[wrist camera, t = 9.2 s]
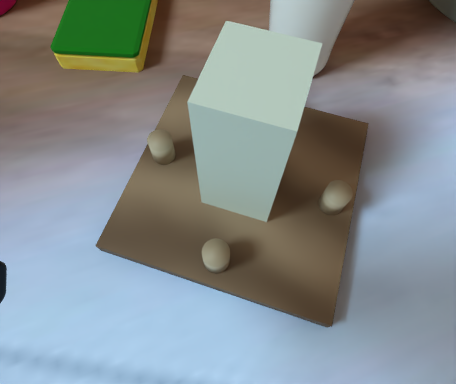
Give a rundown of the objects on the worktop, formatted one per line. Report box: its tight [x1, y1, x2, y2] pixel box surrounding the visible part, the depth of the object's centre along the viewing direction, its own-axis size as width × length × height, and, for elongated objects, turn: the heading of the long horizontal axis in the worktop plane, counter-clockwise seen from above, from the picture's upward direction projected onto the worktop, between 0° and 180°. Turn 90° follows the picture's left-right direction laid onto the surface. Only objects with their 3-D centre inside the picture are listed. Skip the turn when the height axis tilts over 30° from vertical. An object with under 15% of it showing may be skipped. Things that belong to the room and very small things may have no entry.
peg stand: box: [96, 75, 368, 327], centre depth 23 cm, size 15×15×3 cm
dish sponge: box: [51, 0, 158, 72], centre depth 31 cm, size 7×14×2 cm, turn 177°
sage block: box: [187, 21, 322, 222], centre depth 19 cm, size 5×4×10 cm
